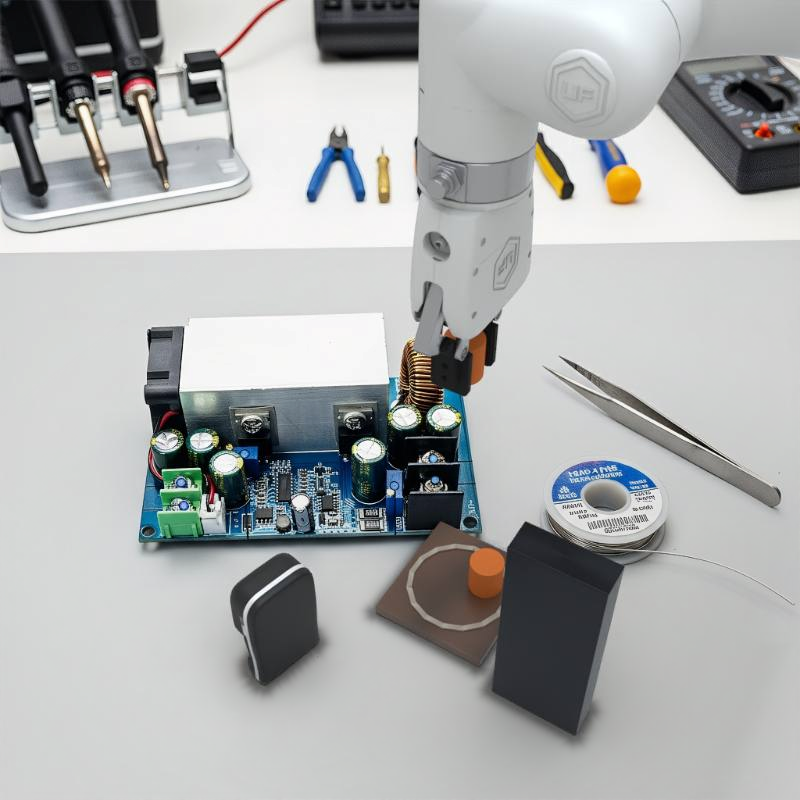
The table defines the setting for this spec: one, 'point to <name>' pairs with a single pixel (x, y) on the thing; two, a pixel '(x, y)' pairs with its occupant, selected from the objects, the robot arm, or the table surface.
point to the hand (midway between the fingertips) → (463, 371)
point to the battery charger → (276, 614)
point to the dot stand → (553, 625)
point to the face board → (445, 596)
